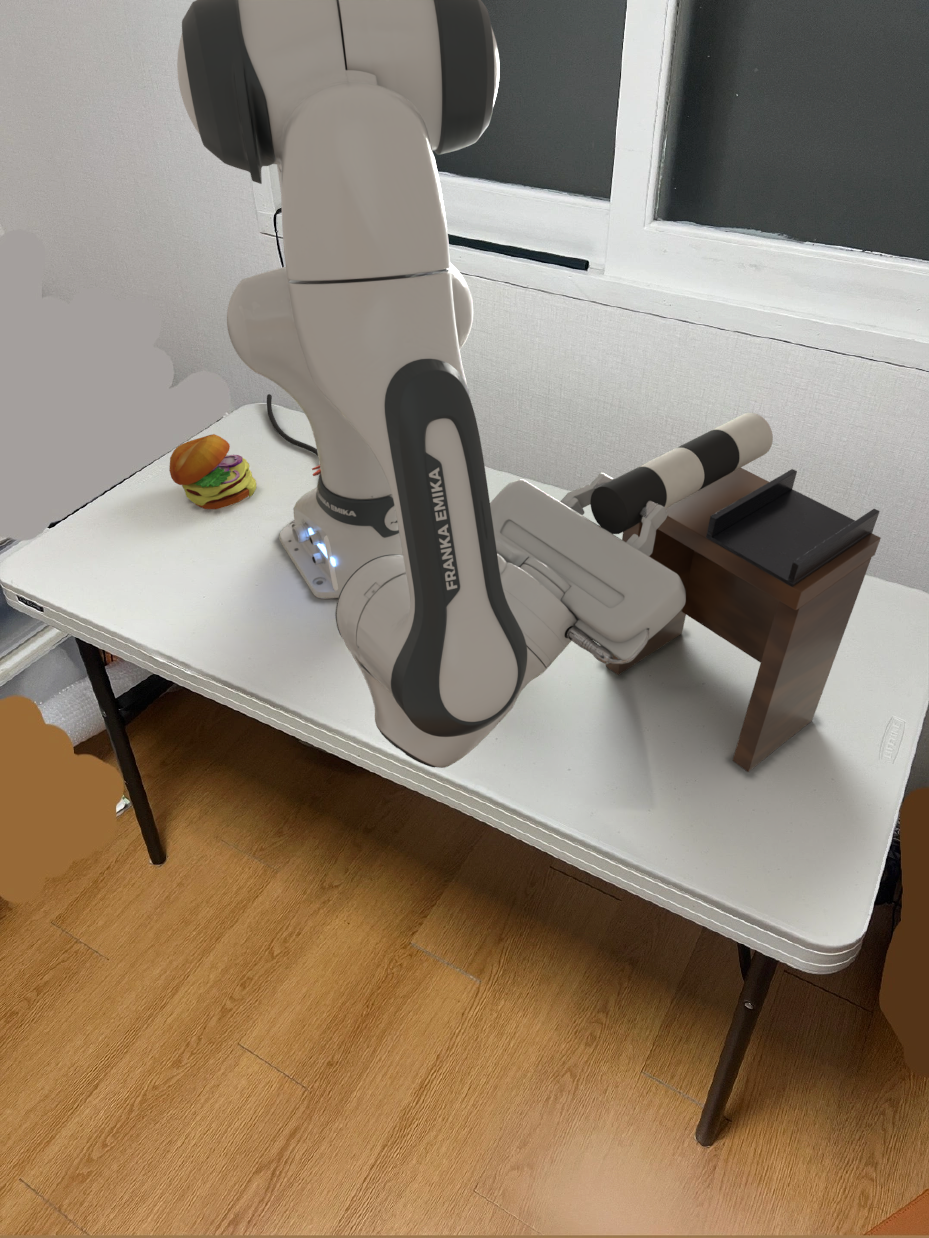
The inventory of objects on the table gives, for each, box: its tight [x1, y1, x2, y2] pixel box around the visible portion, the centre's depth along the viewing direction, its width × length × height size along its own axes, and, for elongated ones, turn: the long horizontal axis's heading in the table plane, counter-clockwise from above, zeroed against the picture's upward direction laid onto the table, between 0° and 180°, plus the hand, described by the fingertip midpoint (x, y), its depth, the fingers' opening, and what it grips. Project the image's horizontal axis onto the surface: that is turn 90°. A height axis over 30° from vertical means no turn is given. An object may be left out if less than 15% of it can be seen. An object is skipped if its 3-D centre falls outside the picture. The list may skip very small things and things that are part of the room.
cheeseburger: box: [169, 433, 257, 510], centre depth 127 cm, size 10×11×10 cm
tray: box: [706, 468, 881, 587], centre depth 80 cm, size 9×12×2 cm
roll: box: [590, 412, 774, 535], centre depth 81 cm, size 20×4×4 cm, turn 129°
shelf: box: [605, 467, 882, 773], centre depth 91 cm, size 20×12×24 cm, turn 39°
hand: (634, 492), depth 78 cm, fingers closed on roll, 4 cm apart
